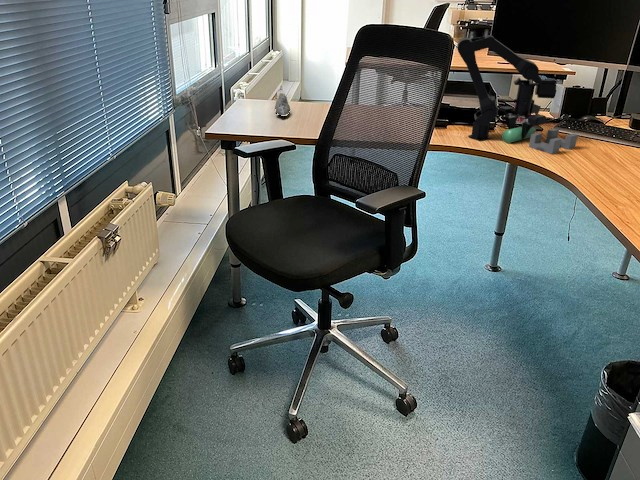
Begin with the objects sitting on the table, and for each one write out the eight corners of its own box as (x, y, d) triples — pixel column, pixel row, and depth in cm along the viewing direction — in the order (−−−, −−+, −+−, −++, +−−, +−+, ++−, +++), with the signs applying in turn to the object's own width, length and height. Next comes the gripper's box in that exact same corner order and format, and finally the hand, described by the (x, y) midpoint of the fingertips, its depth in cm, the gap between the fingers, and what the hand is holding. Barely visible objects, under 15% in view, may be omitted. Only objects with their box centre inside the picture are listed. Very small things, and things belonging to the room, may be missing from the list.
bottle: (511, 144, 204) (514, 131, 201) (501, 141, 207) (503, 128, 205) (537, 138, 211) (539, 125, 209) (526, 134, 215) (529, 122, 212)
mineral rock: (283, 120, 231) (283, 97, 227) (262, 117, 236) (261, 94, 231) (298, 114, 242) (297, 91, 237) (278, 111, 246) (277, 89, 241)
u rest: (551, 154, 194) (554, 141, 191) (528, 146, 201) (531, 134, 199) (574, 147, 200) (577, 134, 198) (551, 140, 208) (554, 128, 205)
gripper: (559, 99, 197) (550, 140, 205) (518, 89, 211) (511, 128, 219) (540, 103, 192) (532, 144, 199) (499, 93, 206) (493, 132, 213)
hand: (517, 137), depth 208 cm, fingers closed on bottle, 5 cm apart
